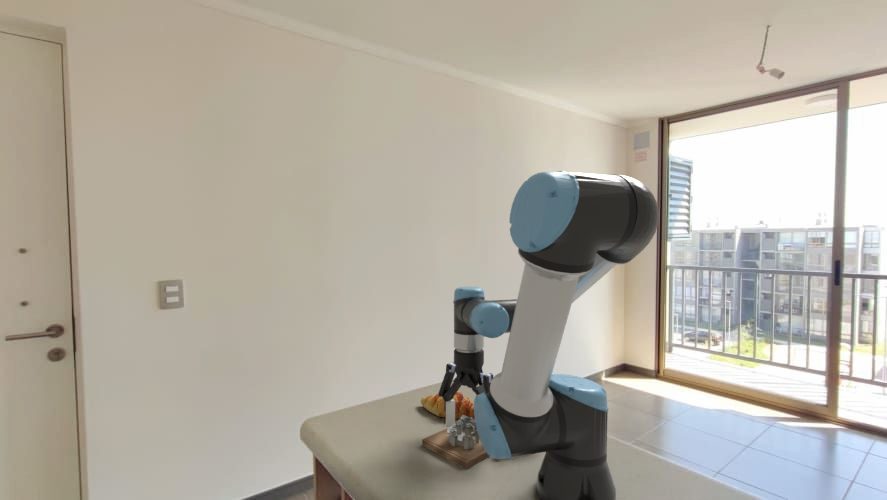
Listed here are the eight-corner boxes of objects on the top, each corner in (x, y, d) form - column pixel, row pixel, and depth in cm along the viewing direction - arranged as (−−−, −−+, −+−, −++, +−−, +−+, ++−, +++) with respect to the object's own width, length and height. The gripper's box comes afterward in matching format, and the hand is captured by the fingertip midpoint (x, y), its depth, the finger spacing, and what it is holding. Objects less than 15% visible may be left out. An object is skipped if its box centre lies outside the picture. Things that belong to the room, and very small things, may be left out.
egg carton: (471, 452, 97) (471, 435, 97) (443, 444, 101) (443, 428, 100) (489, 433, 106) (489, 417, 106) (463, 427, 110) (463, 411, 110)
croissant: (416, 421, 125) (409, 402, 122) (430, 395, 133) (424, 377, 129) (481, 435, 115) (475, 414, 112) (492, 406, 123) (487, 387, 120)
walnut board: (514, 441, 105) (514, 435, 105) (466, 469, 92) (466, 461, 92) (470, 423, 116) (470, 417, 116) (422, 445, 103) (422, 438, 103)
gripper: (518, 355, 97) (517, 445, 98) (445, 338, 115) (445, 414, 115) (498, 362, 92) (497, 457, 93) (425, 342, 110) (425, 423, 110)
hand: (468, 433), depth 104 cm, fingers open, 12 cm apart
